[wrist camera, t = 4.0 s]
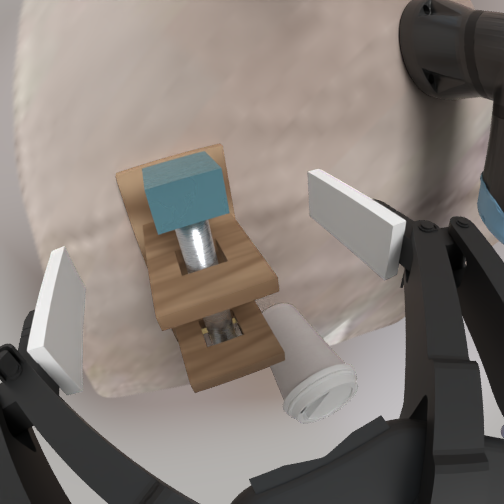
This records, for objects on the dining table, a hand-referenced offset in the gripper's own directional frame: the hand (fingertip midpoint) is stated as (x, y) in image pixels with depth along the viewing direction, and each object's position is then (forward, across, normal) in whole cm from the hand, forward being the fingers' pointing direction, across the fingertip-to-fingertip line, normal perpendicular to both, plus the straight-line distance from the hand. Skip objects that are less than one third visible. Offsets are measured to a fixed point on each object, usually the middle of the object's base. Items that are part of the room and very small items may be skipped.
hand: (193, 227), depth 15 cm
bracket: (+15, +1, -10) cm, 18 cm away
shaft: (+8, +1, -9) cm, 12 cm away
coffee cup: (+15, +9, -26) cm, 31 cm away
